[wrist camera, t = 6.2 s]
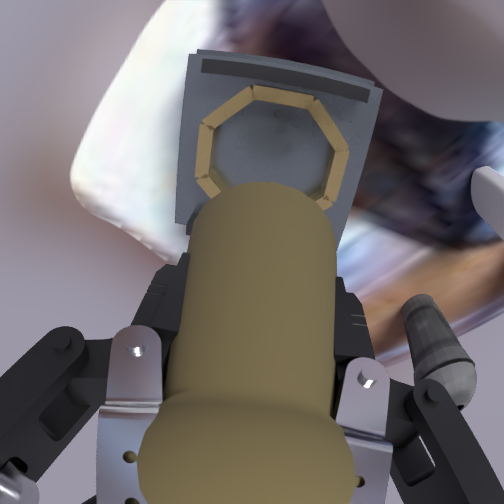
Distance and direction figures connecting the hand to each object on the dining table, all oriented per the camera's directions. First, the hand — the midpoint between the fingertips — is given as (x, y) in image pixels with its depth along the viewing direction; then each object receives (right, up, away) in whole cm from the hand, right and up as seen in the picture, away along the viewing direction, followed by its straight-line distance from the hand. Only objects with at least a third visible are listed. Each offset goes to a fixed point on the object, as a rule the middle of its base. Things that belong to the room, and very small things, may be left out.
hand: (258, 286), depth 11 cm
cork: (0, +1, +2) cm, 2 cm away
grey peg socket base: (+2, +11, +16) cm, 19 cm away
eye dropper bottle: (+24, +8, +16) cm, 30 cm away
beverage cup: (+21, -6, +25) cm, 33 cm away
